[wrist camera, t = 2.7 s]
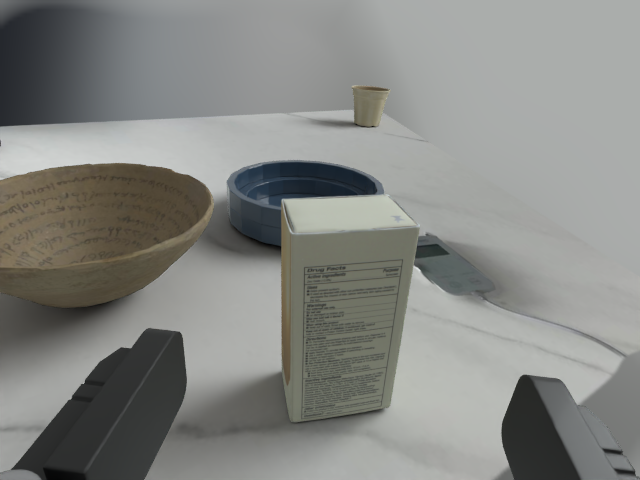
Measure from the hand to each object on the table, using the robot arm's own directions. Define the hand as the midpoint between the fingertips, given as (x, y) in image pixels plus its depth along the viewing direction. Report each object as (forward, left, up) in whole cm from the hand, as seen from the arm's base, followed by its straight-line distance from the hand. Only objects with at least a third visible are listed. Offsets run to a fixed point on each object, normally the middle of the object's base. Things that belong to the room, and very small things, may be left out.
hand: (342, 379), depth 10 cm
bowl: (+23, -14, -13) cm, 30 cm away
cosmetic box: (+3, -11, -13) cm, 17 cm away
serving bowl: (+13, -35, -12) cm, 39 cm away
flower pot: (+19, -96, -13) cm, 99 cm away
